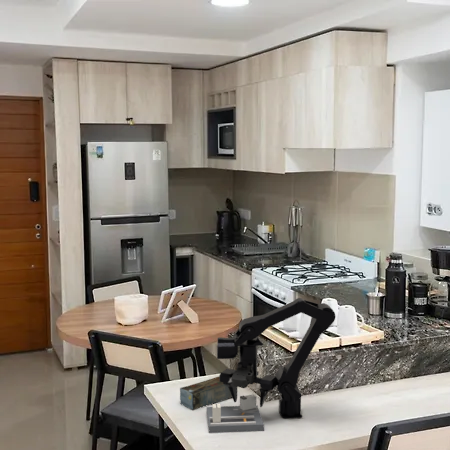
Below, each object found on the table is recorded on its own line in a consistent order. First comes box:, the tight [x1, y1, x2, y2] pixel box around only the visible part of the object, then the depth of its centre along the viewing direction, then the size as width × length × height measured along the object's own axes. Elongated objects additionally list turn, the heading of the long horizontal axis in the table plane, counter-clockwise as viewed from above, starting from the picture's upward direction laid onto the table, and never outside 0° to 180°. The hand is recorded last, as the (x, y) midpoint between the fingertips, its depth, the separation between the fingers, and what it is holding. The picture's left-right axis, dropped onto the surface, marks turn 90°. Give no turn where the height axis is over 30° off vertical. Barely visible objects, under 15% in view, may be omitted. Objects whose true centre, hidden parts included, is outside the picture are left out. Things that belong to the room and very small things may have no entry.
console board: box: [206, 404, 265, 434], centre depth 200 cm, size 17×15×3 cm
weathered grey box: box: [179, 376, 233, 411], centre depth 218 cm, size 8×19×7 cm, turn 129°
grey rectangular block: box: [239, 393, 257, 410], centre depth 205 cm, size 5×2×4 cm, turn 117°
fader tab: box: [211, 403, 222, 423], centre depth 195 cm, size 2×3×5 cm
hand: (248, 404), depth 205 cm, fingers open, 9 cm apart
